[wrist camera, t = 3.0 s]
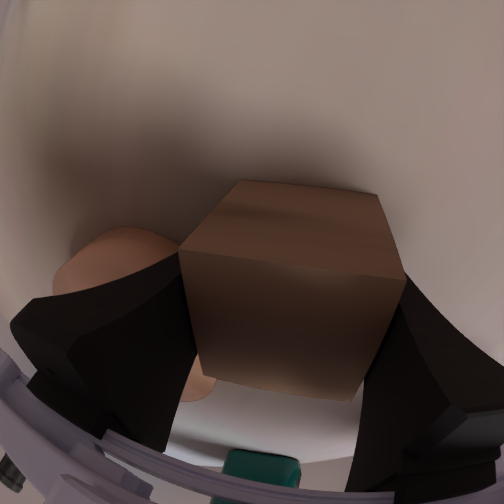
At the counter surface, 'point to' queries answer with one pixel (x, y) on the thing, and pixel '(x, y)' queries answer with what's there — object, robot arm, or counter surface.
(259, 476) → the green plastic tall container
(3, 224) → the counter surface
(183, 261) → the walnut cube
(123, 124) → the counter surface
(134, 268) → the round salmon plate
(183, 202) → the counter surface
